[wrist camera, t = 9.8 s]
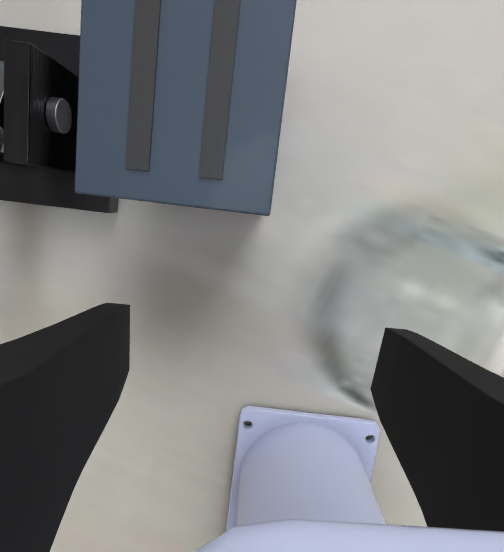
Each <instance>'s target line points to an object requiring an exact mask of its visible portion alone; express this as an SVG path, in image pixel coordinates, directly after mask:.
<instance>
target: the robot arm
mask: <svg viewBox="0 0 504 552" xmlns="http://www.w3.org/2000/svg"><path fill="white" fill-rule="evenodd" d="M129 352H130V305H126V304H115V303H105V304H101V305H99V306H96V307H94V308H91V309H89V310H86V311H84V312H82V313H79V314H77V315H75V316H73V317H70V318H68V319H66V320H63V321H61V322H59V323H56V324H54V325H52V326H49V327H46V328H44V329H41V330H39V331H36V332H34V333H31V334H28V335H26V336H23V337H21V338H18V339H15V340H12V341H9V342H6V343H3V344H0V552H50V549H51V546H52V544H53V541H54V538H55V536H56V533H57V530H58V528H59V525H60V523H61V520H62V517H63V515H64V512H65V510H66V507H67V505H68V502H69V500H70V497H71V495H72V492H73V490H74V487H75V485H76V483H77V481H78V479H79V476H80V474H81V472H82V470H83V468H84V466H85V464H86V462H87V460H88V458H89V457H90V455H91V453H92V451H93V449H94V447H95V445H96V443H97V441H98V439H99V437H100V435H101V434H102V432H103V430H104V428H105V426H106V424H107V422H108V420H109V418H110V416H111V414H112V412H113V410H114V408H115V406H116V404H117V402H118V400H119V398H120V395H121V392H122V390H123V387H124V384H125V381H126V378H127V375H128V372H129ZM371 392H372V395H373V399H374V403H375V406H376V409H377V412H378V415H379V418H380V421H381V423H382V425H383V428H384V430H385V432H386V434H387V436H388V438H389V441H390V443H391V445H392V447H393V449H394V451H395V453H396V455H397V457H398V459H399V462H400V464H401V466H402V468H403V470H404V472H405V474H406V476H407V478H408V480H409V482H410V485H411V487H412V489H413V491H414V493H415V495H416V498H417V500H418V502H419V505H420V507H421V510H422V512H423V515H424V518H425V521H426V524H427V526H428V527H420V526H404V525H388V524H386V522H385V520H384V517H383V515H382V512H381V510H380V507H379V505H378V502H377V500H376V497H375V495H374V492H373V490H372V487H371V485H370V481H371V476H372V471H373V466H374V460H375V455H376V450H377V445H378V440H379V435H380V428H379V426H378V424H377V423H376V422H375V421H373V420H368V419H359V418H350V417H342V416H333V415H325V414H316V413H307V412H299V411H290V410H281V409H273V408H264V407H256V406H245V407H243V408H242V410H241V412H240V418H239V427H238V435H237V443H236V451H235V459H234V468H233V476H232V484H231V492H230V500H229V509H228V517H227V525H226V533H224V534H222V535H221V536H219V537H217V538H216V539H214V540H213V541H211V542H209V543H208V544H206V545H205V546H203V547H201V548H200V549H198V550H196V551H195V552H504V378H503V377H501V376H499V375H497V374H495V373H493V372H490V371H488V370H486V369H484V368H483V367H481V366H479V365H477V364H475V363H473V362H471V361H469V360H467V359H465V358H463V357H461V356H460V355H458V354H456V353H454V352H452V351H450V350H448V349H447V348H445V347H443V346H441V345H439V344H437V343H435V342H433V341H431V340H429V339H427V338H425V337H423V336H421V335H419V334H417V333H415V332H412V331H409V330H405V329H394V328H385V332H384V336H383V340H382V344H381V348H380V352H379V357H378V361H377V365H376V369H375V373H374V377H373V381H372V386H371ZM245 421H250V422H251V423H252V424H251V425H248V426H247V425H245V424H244V422H245ZM368 435H372V438H371V439H365V438H366V437H367V436H368ZM231 528H232V529H231Z"/></svg>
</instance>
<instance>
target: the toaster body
mask: <svg viewBox="0 0 504 552" xmlns="http://www.w3.org/2000/svg"><path fill="white" fill-rule="evenodd" d="M296 1H297V0H82V6H81V34H80V61H79V89H78V116H77V144H76V171H75V192H76V193H80V194H88V195H97V196H105V197H113V198H122V199H130V200H139V201H147V202H155V203H164V204H172V205H180V206H189V207H197V208H206V209H214V210H222V211H231V212H239V213H247V214H256V215H264V216H269V215H270V210H271V202H272V194H273V186H274V178H275V170H276V162H277V154H278V146H279V137H280V129H281V121H282V113H283V105H284V97H285V89H286V81H287V73H288V65H289V57H290V49H291V41H292V33H293V25H294V17H295V9H296Z"/></svg>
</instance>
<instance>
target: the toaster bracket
mask: <svg viewBox="0 0 504 552" xmlns="http://www.w3.org/2000/svg"><path fill="white" fill-rule="evenodd" d="M0 61H3V62H4V153H2V152H0V200H4V201H13V202H21V203H29V204H38V205H46V206H55V207H63V208H71V209H80V210H88V211H97V212H105V213H115V212H117V203H118V198H113V197H105V196H97V195H88V194H80V193H76V192H75V171H76V144H77V116H78V89H79V61H80V36H77V35H69V34H61V33H53V32H44V31H36V30H28V29H20V28H12V27H4V26H0Z"/></svg>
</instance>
